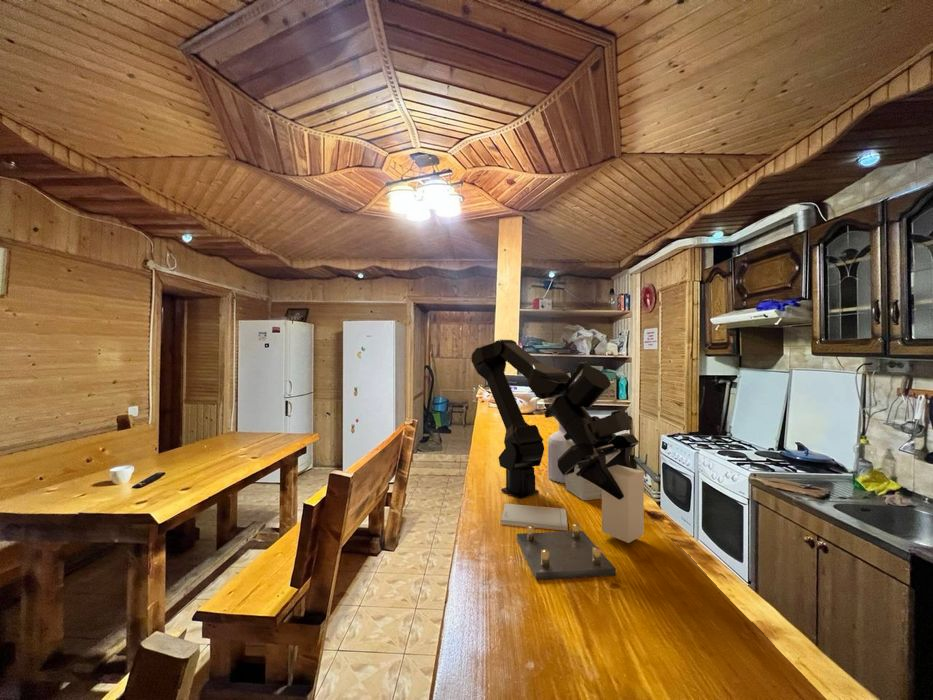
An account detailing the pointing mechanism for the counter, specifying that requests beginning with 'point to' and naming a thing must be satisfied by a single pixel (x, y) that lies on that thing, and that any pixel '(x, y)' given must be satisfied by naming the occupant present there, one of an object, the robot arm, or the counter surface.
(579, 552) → the chassis plate
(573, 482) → the supplement box
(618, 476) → the cream block
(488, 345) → the robot arm
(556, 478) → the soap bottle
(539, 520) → the hard drive
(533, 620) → the counter surface
